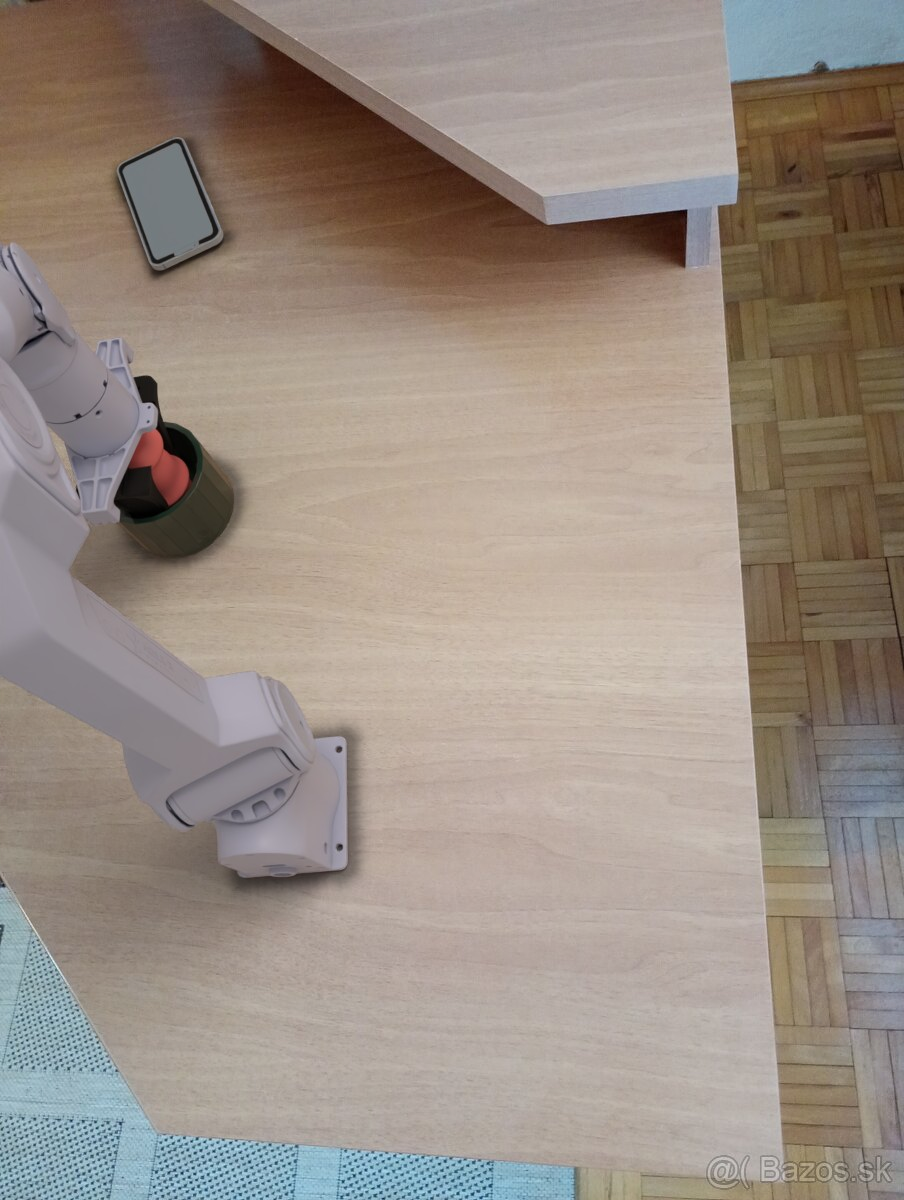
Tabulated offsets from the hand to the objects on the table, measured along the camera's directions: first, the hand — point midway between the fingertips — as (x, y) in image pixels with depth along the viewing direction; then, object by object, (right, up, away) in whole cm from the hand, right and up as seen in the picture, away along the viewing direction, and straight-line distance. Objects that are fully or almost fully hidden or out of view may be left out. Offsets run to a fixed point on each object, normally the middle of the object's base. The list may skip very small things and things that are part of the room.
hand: (159, 483), depth 85 cm
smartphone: (-4, +28, +17) cm, 33 cm away
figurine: (+1, -1, +3) cm, 3 cm away
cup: (+1, -2, +4) cm, 4 cm away
